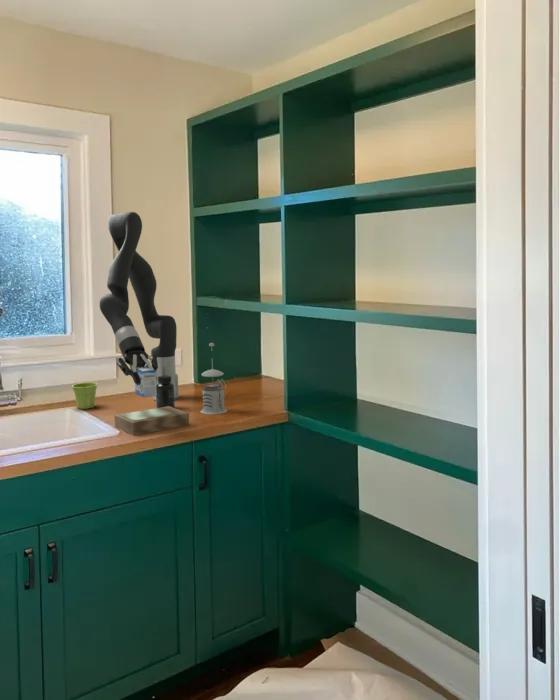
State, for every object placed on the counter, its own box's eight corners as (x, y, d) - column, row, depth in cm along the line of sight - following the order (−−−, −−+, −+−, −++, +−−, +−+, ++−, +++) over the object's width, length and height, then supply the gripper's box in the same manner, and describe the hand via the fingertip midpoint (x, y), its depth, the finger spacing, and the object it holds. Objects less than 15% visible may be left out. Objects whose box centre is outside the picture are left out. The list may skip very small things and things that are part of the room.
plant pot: (95, 409, 244) (94, 386, 242) (69, 410, 243) (68, 387, 242) (101, 404, 253) (100, 382, 252) (77, 405, 253) (75, 382, 252)
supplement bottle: (173, 405, 248) (172, 374, 247) (176, 409, 242) (175, 377, 240) (155, 407, 246) (153, 375, 245) (157, 411, 240) (156, 378, 238)
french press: (216, 407, 245) (214, 340, 241) (236, 411, 236) (234, 342, 233) (194, 411, 238) (192, 343, 235) (214, 416, 230) (211, 345, 226)
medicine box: (135, 393, 217) (133, 367, 215) (147, 391, 219) (146, 366, 218) (144, 397, 210) (142, 371, 209) (157, 395, 213) (155, 369, 211)
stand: (169, 417, 229) (168, 405, 229) (189, 424, 218) (188, 412, 218) (115, 426, 217) (114, 414, 217) (133, 435, 206) (132, 421, 206)
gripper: (112, 336, 214) (129, 378, 206) (152, 333, 223) (170, 373, 215) (106, 351, 219) (123, 392, 211) (145, 347, 228) (163, 386, 220)
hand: (146, 382), depth 213 cm, fingers closed on medicine box, 4 cm apart
